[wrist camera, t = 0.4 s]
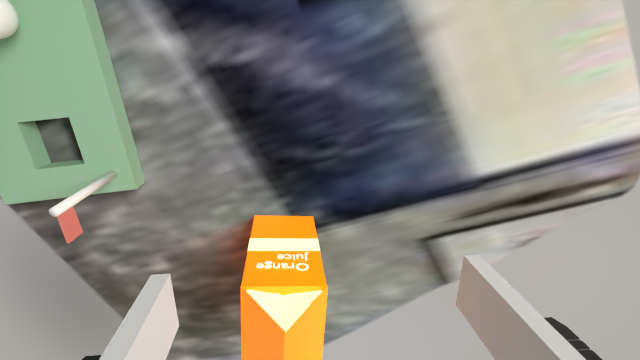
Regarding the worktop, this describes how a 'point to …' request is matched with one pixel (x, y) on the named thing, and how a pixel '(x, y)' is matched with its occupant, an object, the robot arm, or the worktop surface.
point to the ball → (7, 19)
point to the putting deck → (62, 109)
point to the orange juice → (283, 291)
